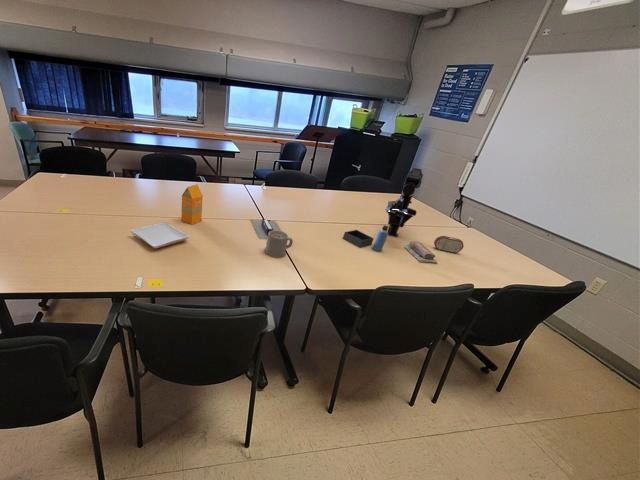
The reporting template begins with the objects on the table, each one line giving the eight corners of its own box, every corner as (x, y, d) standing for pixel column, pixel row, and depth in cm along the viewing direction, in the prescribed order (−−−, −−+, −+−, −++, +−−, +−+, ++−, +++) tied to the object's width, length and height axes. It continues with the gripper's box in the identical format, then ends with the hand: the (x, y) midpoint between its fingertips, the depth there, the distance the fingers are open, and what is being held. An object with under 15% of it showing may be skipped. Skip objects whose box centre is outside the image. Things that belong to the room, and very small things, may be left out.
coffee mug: (267, 256, 154) (270, 238, 149) (263, 247, 162) (266, 229, 157) (293, 258, 156) (297, 239, 151) (288, 249, 165) (292, 231, 159)
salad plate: (190, 241, 158) (190, 235, 157) (154, 252, 145) (154, 246, 143) (165, 227, 170) (165, 221, 168) (129, 236, 156) (129, 229, 154)
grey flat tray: (259, 238, 172) (260, 231, 170) (251, 220, 192) (252, 213, 190) (285, 239, 175) (286, 232, 172) (274, 221, 195) (275, 215, 193)
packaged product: (407, 239, 182) (423, 241, 183) (404, 247, 185) (420, 248, 185) (423, 254, 167) (441, 255, 168) (419, 262, 169) (436, 263, 170)
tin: (458, 252, 187) (465, 240, 182) (459, 255, 184) (467, 242, 180) (431, 246, 190) (437, 233, 186) (432, 248, 188) (438, 235, 183)
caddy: (354, 235, 191) (356, 229, 189) (371, 244, 182) (373, 238, 180) (342, 238, 185) (344, 231, 183) (359, 247, 177) (362, 240, 175)
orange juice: (201, 220, 184) (203, 186, 173) (191, 224, 177) (192, 188, 166) (191, 216, 187) (192, 182, 176) (181, 220, 180) (181, 185, 169)
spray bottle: (373, 246, 180) (382, 223, 172) (382, 249, 178) (391, 226, 170) (371, 249, 177) (380, 226, 169) (380, 252, 174) (389, 228, 167)
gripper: (383, 193, 182) (372, 219, 185) (405, 194, 164) (394, 223, 168) (398, 199, 185) (388, 224, 189) (422, 200, 168) (410, 229, 171)
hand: (394, 225), depth 179 cm, fingers open, 9 cm apart
